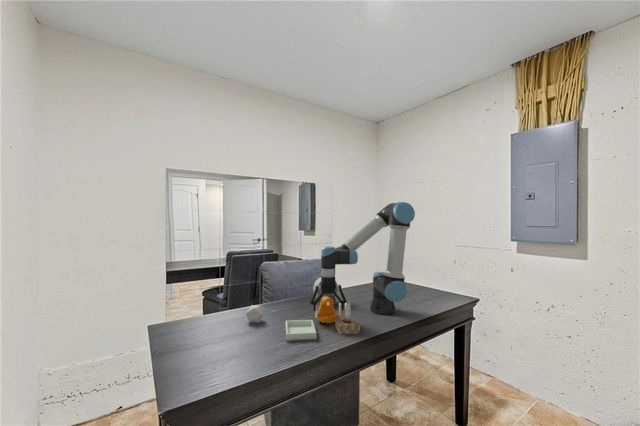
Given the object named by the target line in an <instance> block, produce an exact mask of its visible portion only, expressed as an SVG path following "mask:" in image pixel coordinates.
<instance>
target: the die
mask: <svg viewBox="0 0 640 426" xmlns="http://www.w3.org/2000/svg"><path fill="white" fill-rule="evenodd" d="M245 315H246V317H247V322H248V323H250V324H252V323H253V324H259V323H260V322H261V321H262V320H263V317H264V316H265V312H264V309H263V308H262V305H252V304H251V305H250V307H249V308H248V310H247V311H246V312H245Z"/></svg>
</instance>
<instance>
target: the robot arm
mask: <svg viewBox="0 0 640 426" xmlns="http://www.w3.org/2000/svg"><path fill="white" fill-rule="evenodd" d="M415 216H416V212H415V209H414V207H413V206H412V205H411V204H410V203H409V202H405V201H398V202H392V203H389V204H387V205H386V206H385V207H384V208H382V209H381V210H379V212H377V213H376V214H375V215H374V218H373V219H372V220H370V221H369V222H368V223H367V224H366V225H364V226H363V227H362V228H360V230H358V231H357V232H356V233H354V234H353V235H352V236H351V237H350V238H349V239H348V240H346V241H345V242H344V243H343V244H340V246H337V247H335V246H323V247H322V248H321V256H320V258H321V259H320V260H321V264H320V265H321V267H320V268H321V270H320V271H321V272H320V273H321V276H322V277H321V276H320V277H321V286H317V285H316V286H315V291H314V293H313V292H312V296H311V298H310V301H309V304H310V305H312V306H313V308H312V309H313V311H314V313H315V315H314V316H315V319H317V311H318V305H317V303H318V301H319V300H320V299H321V297H322V296H323V295H324V294H332V293H333V294H334V295H335V298H336V300H338V301H339V302H338V314H339V315H340V318H342V311H344V303H345V302H348V301H347V299H346V296H345V294H344V292H343V290H342V285H341V284H339V283H338V284H337V285H336V284H335V281H336V265H355V264H357V263H358V261H359V256H358V252H357V250H358V249H360V248H361V246H363V245H364V244H365V243H366V242H367V241H369V240H370V239H371V238H372V237H373V236H375V235H376V234H377V233H378V232H379V231H381V230H382V229H383V228H387V227H389V228H390V233H389V242H388V253H387V261H386V271H375V272H373V274H372V298H371V301H370V303H369V310H370V312H372V313H374V314H377V315H381V316H384V315H385V316H389V315H393V314H395V313H396V311H397V310H396V305H395V303H397V302H401V301H402V300H404V299H405V297H406V296H407V293H408V287H407V285H406V284H405V280H406V279H405V278H406V276H405V275H404V274H403V271H404V270H403V269H404V262H405V261H404V259H405V249H406V240H407V230H409V229H410V228H411V223H412V222H413V221H414V219H415ZM320 288H321V289H322V291H321V293H320V294H319V295H318V297H317V298H316V294H317V292H318V290H319V289H320ZM336 288H337V289H338V291H339V293H340V295H341V297H340V295H338V293H337V294H336V292H335V291H334V290H335V289H336ZM315 298H316V300H315ZM341 298H342V299H341Z"/></svg>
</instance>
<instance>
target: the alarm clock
mask: <svg viewBox="0 0 640 426" xmlns="http://www.w3.org/2000/svg"><path fill="white" fill-rule="evenodd" d="M321 277H322V275H321V276H320V277H318V278H317V279H316V281H315V282H314V283H313V284H314V285H313V286H312V291H313V292H312V294H313V293H314V291H315V286H316V285H317V286H321ZM335 284H336V285H338V282H337V281H336V280H335ZM321 291H322V289H321V288H320V289H319V290H318V292H317V294H316V297H315V299H314V301H315V300H316V298H317V297H318V295H319V294H320V293H321ZM334 291H335V292H336V294H337V295H338V291H339V289H337V288H336V289H335V290H334ZM324 296H328V297H330V298H331V299H333V301H334V305H336V304H337V297H336V296H335V295H334V294H333V293H332V294H324V295H323V296H322V297H321V299H322V298H323V297H324ZM321 299H320V300H319V301H318V303H317V307H319V305H320V302H321Z"/></svg>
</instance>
